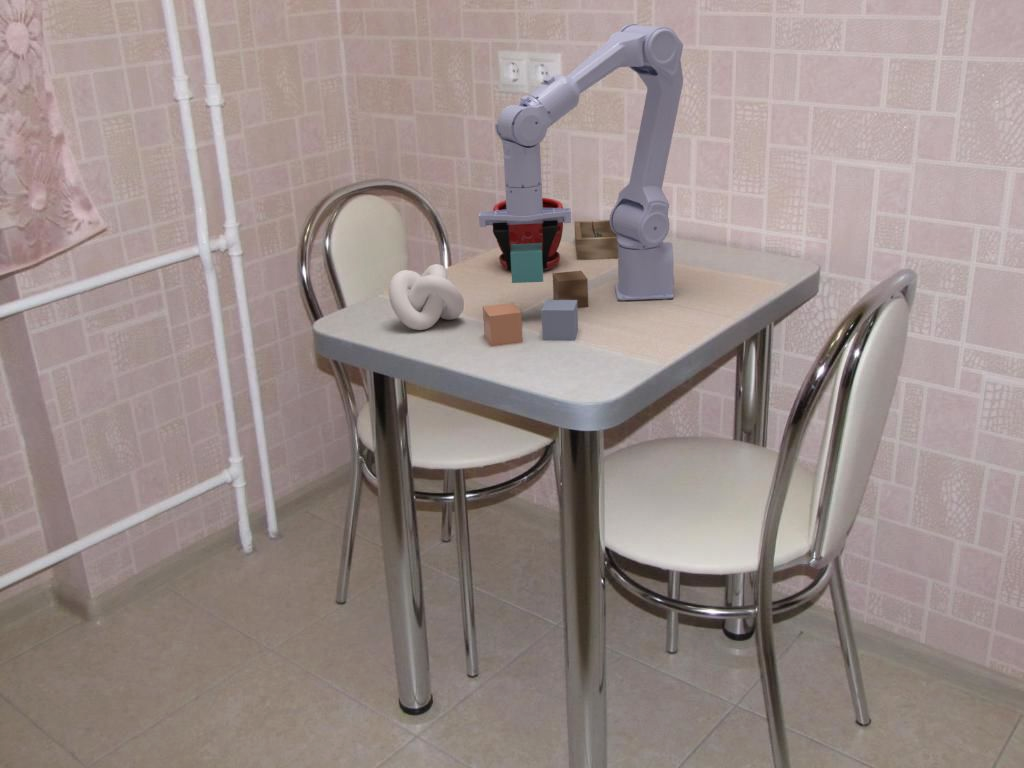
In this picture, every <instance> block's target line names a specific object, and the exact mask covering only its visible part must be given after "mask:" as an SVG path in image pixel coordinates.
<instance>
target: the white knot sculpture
mask: <svg viewBox="0 0 1024 768" xmlns="http://www.w3.org/2000/svg"><path fill="white" fill-rule="evenodd" d="M448 278H449V277H448V272H447V270H446V268H445V266H443V265H442V264H439V263H435V264H431V265H429V266H428V267H427V268H426V269H425V270H424V271H423V272H422V274H419V273H418V272H416V271H414V270H410V269H409V270H408V269H403V270H400V271H398V272H396V273H395V274H394V275H393V276H392V278H391V279H390V282H389V287H388V298H389V302H390V305H391V308H392V310H393V311H394V314H395V315H396V317H397V318H398V320H399V321H400V322H401V323H402V324H403V325H404V326H406V327H408V328H409V329H412V330H414V331H425V330H428V329H429V328H432V327H433V326H434V325H435V324H436V323H437V322H438V320H439V319H442V320H446V321H452V320H455V319H458V318H459V317H460V316H461V314H463V311H464V306H465V303H464V302H465V301H464V297H463V294H462V293H461V291H460V290H459V289H458V287H457V286H456V285H455V284H454V283H453V282H452V281H451V280H449V279H448ZM408 290H409V293H408Z"/></svg>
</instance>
